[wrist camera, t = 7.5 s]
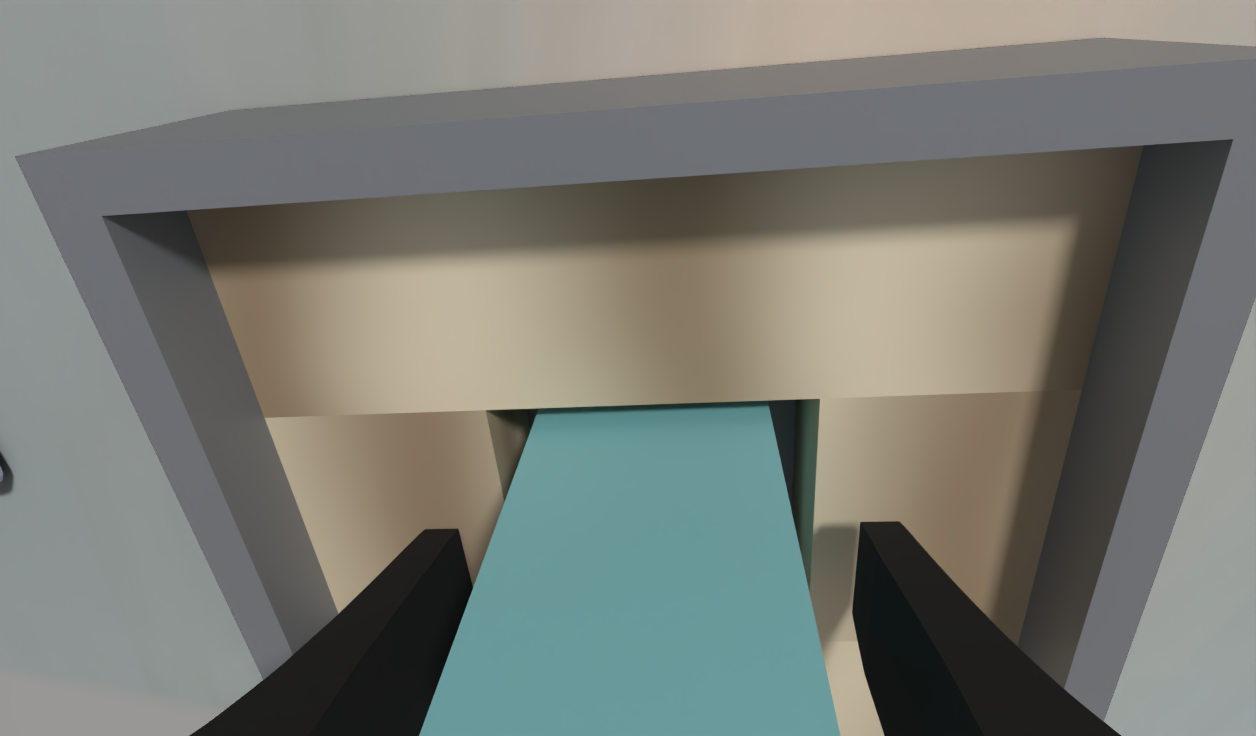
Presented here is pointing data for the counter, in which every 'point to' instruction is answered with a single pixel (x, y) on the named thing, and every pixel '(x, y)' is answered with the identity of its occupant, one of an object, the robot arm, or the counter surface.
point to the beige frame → (692, 350)
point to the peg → (641, 586)
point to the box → (690, 146)
